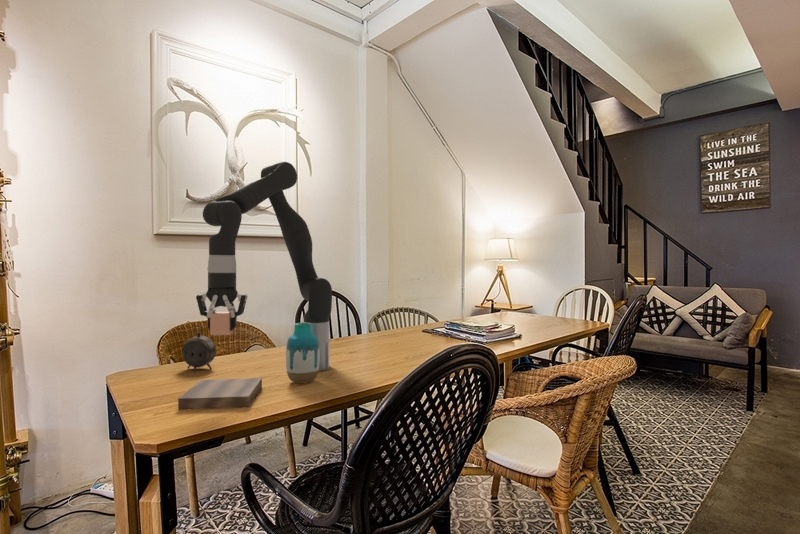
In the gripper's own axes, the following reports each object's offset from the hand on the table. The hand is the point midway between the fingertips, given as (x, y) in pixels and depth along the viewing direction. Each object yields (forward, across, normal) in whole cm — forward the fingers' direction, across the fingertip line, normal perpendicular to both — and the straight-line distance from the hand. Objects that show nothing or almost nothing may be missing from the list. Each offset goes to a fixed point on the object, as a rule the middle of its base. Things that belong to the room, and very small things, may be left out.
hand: (222, 330), depth 125 cm
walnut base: (+19, 0, 0) cm, 19 cm away
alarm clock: (+20, +18, -33) cm, 43 cm away
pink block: (+1, 0, 0) cm, 1 cm away
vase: (+20, -21, -14) cm, 32 cm away
